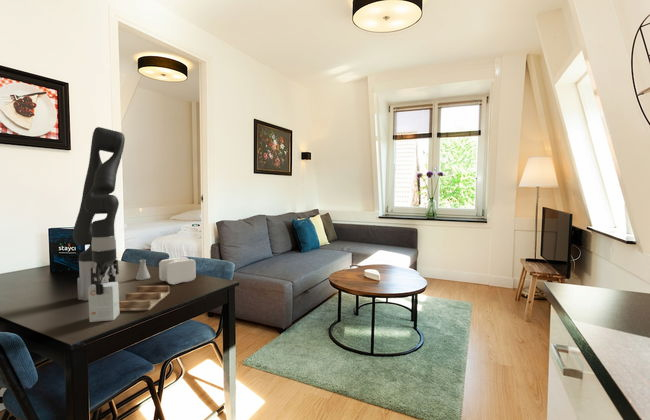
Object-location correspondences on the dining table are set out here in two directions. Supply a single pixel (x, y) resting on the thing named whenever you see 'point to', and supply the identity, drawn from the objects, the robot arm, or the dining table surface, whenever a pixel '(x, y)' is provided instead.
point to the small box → (104, 302)
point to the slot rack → (144, 298)
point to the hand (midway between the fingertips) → (106, 290)
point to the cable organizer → (177, 270)
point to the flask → (142, 271)
